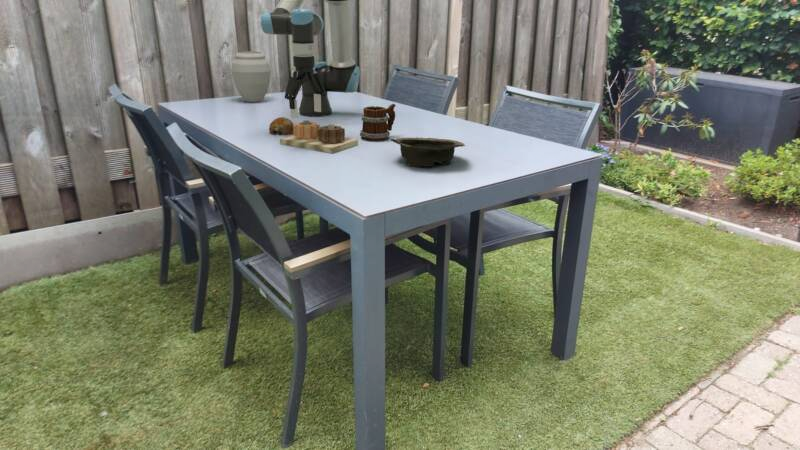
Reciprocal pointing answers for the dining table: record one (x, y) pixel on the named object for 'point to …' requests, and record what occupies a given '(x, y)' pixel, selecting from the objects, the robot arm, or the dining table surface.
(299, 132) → the gear
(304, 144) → the peg board
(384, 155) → the dining table surface
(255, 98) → the vase
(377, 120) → the mug
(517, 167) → the dining table surface
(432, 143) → the stone bowl
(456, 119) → the dining table surface
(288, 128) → the bread roll
